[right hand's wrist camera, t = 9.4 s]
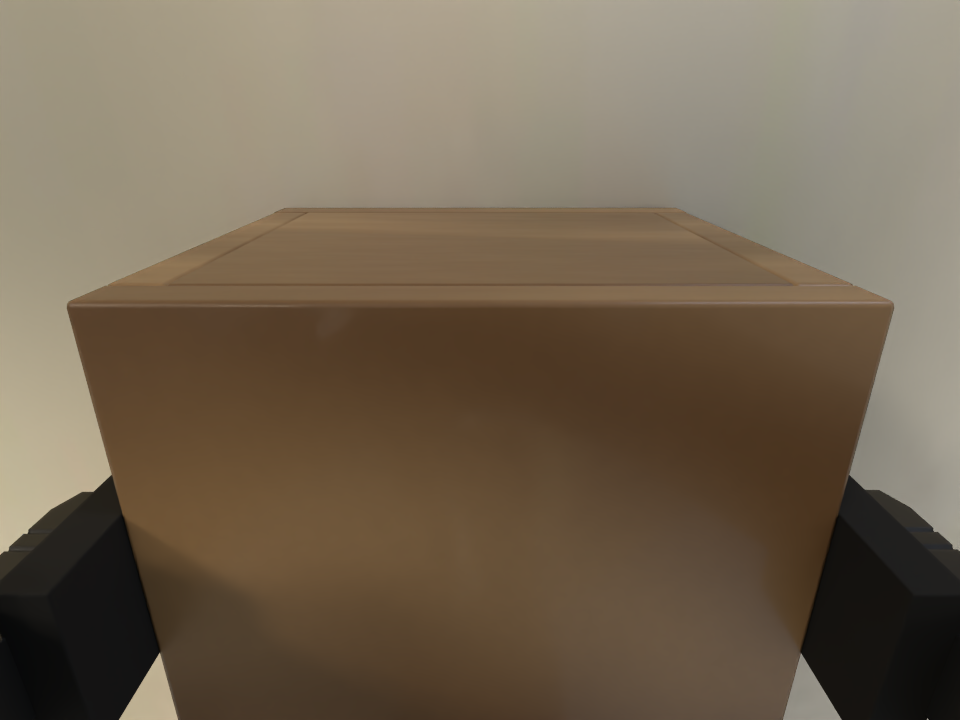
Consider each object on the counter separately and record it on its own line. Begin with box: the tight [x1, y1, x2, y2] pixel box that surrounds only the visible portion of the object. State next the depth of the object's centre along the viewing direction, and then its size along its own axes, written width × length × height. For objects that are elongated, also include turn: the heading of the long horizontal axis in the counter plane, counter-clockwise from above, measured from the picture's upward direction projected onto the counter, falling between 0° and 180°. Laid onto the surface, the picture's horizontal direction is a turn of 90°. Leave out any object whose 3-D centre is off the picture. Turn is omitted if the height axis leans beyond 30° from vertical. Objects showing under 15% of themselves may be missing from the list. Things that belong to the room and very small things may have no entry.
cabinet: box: [67, 208, 894, 720], centre depth 15 cm, size 17×10×9 cm, turn 0°
